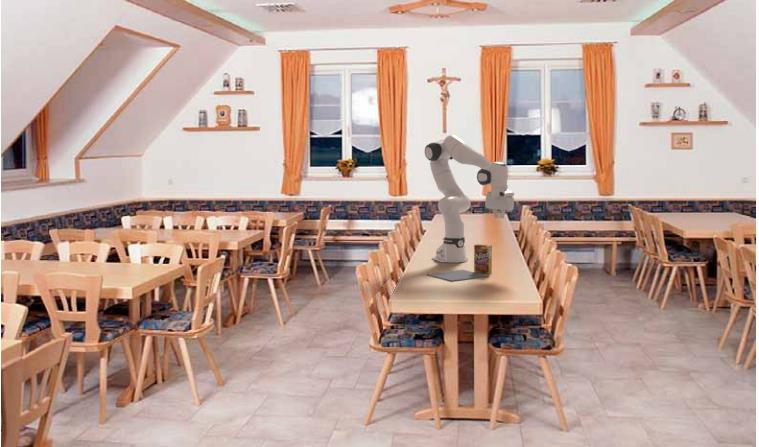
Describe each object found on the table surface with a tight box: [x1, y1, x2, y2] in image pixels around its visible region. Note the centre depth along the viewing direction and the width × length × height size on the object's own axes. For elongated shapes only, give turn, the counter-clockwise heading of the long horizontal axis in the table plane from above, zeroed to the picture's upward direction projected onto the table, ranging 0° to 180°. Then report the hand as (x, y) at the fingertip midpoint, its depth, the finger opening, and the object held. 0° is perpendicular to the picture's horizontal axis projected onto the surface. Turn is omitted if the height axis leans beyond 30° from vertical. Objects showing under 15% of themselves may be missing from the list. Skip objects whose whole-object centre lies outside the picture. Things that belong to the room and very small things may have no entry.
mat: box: [426, 269, 489, 283], centre depth 409 cm, size 22×24×1 cm
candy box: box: [473, 243, 493, 275], centre depth 417 cm, size 9×4×15 cm, turn 56°
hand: (499, 217), depth 421 cm, fingers open, 3 cm apart
